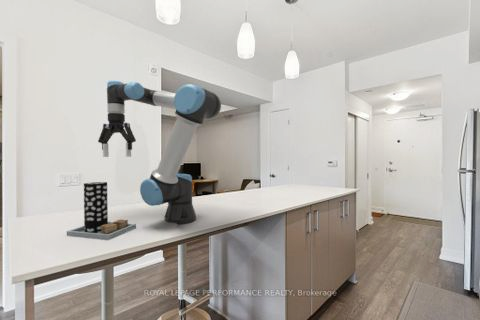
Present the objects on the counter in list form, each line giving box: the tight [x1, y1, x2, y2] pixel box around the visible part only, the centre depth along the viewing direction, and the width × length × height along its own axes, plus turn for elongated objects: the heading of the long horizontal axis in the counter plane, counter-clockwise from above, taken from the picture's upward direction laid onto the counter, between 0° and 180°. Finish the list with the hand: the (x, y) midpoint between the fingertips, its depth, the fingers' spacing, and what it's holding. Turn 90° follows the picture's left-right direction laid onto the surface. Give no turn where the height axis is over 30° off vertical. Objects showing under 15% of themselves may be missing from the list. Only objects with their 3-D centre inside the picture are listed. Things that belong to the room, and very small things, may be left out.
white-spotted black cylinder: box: [83, 181, 109, 233], centre depth 98 cm, size 8×8×20 cm
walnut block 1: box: [101, 223, 117, 234], centre depth 93 cm, size 4×4×4 cm
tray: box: [66, 221, 137, 241], centre depth 97 cm, size 20×15×2 cm
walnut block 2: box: [112, 219, 129, 231], centre depth 99 cm, size 4×4×4 cm
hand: (117, 156), depth 116 cm, fingers open, 13 cm apart
